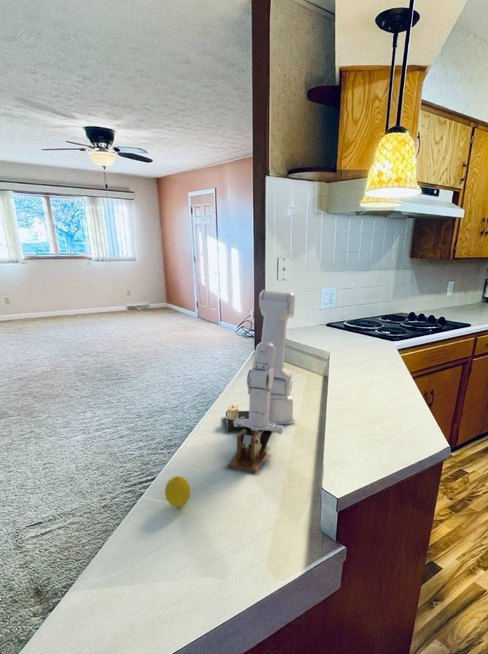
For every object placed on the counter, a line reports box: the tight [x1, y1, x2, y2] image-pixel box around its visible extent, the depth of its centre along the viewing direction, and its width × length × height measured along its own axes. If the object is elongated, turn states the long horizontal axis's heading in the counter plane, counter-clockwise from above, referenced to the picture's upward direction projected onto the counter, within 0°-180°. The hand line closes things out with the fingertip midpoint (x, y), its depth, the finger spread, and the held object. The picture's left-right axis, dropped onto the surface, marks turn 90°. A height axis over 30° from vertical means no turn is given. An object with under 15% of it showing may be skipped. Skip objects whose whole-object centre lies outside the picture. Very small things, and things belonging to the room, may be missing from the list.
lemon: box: [164, 475, 191, 508], centre depth 93 cm, size 6×6×8 cm
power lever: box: [243, 435, 261, 446], centre depth 116 cm, size 12×3×3 cm, turn 166°
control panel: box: [220, 410, 263, 433], centre depth 135 cm, size 13×11×3 cm
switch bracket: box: [227, 429, 268, 474], centre depth 113 cm, size 10×8×9 cm
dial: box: [226, 404, 239, 420], centre depth 134 cm, size 4×4×4 cm
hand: (257, 451), depth 122 cm, fingers closed on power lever, 3 cm apart
